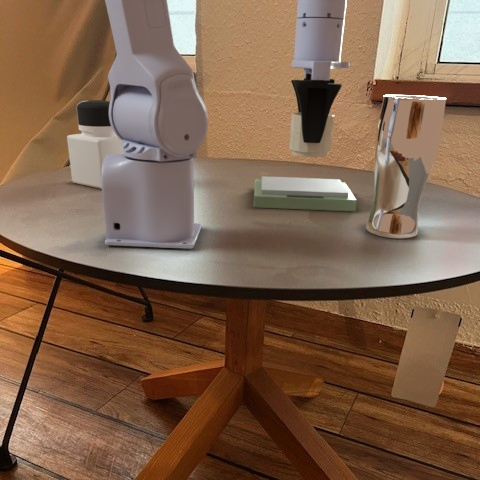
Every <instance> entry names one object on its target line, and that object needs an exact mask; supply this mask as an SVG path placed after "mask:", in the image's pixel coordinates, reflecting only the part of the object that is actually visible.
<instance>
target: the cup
mask: <svg viewBox="0 0 480 480" xmlns="http://www.w3.org/2000/svg"><path fill="white" fill-rule="evenodd" d="M335 117H336V116H335V114H333V113H329V115H328V118H327V122H326V126H325V129H324V133H323V136H322V139H321V142H320V143H304V141H303V135H302V122H301V112H298V111H296V112H291V114H290V127H289V128H290V129H289V142H288V149H289V150H290V155H292V156H295V157H301V158H313V159H314V158H325V157H326V158H327V157H328V156H329V153H330V152H331V151H332V143H333V134H334V125H335Z"/></svg>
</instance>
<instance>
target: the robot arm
mask: <svg viewBox="0 0 480 480" xmlns="http://www.w3.org/2000/svg"><path fill="white" fill-rule="evenodd" d="M347 1H348V0H297V7H296V8H297V9H296V22H295V36H294V37H295V38H294V50H293V60H292V61H291V68H292V69H303V76H304V78H303V79H291V80H290V82H291V85H292V87H293V89H294V90H293V91H294V94H295V98H296V104H297V112H301V122H302V135H303V141H304V143H320V142H321V139H322V136H323V133H324V129H325V126H326V122H327V118H328V115H329V114H330V112H331V108H332V106H333V103H334V102H335V99H336V98H337V96H338V95H339V92H340V90H341V89H342V83H335V82H336V81H335V79H334V78H331V70H341V69H350V67H351V66H350V64H351V62H350V61H341V56H342V47H343V38H344V29H345V20H346V12H347V11H346V10H347ZM104 2H105V5H106V11H107V16H108V19H109V24H110V30H111V33H112V37H113V42H114V47H115V52H116V56H115V59H114V61H113V62H112V65H111V67H110V70H109V71H108V74H107V79H108V80H107V81H108V83H109V89H110V100H109V101H110V105H109V120H110V124H111V127H112V129H113V131H114V132H115V134H116V135H117V136H118V138H120V139H121V140H122V147H123V151H124V154H110V155H107V156H106V157H105V159H104V161H103V165H102V175H101V185H102V189H101V195H102V207H103V216H104V227H105V237H106V238H105V240H104V245H107V246H118V247H119V246H121V247H143V248H167V249H194V247H195V245H196V242H197V240H198V238H199V234H200V232H201V230H202V224H201V223H199V222H196V223H195V180H194V179H195V176H194V175H195V173H194V172H195V171H194V169H195V168H194V167H195V165H194V163H195V162H194V161H195V160H194V159H196V158H197V151H198V150H199V149H200V147H201V146H202V145H203V143H204V140H205V139H206V136H207V133H208V128H209V114H208V110H207V105H206V104H205V102H204V100H203V99H202V97H201V96H200V93H199V91H198V89H197V86H196V81H195V74H194V70H193V68H191V66H190V65H189V63H188V62H187V61H186V60H185V58H184V56H182V55H181V53H180V52H179V51H178V49H177V48H176V46H175V41H174V36H173V29H172V23H171V17H170V11H169V5H168V0H104Z"/></svg>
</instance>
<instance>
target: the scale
mask: <svg viewBox="0 0 480 480" xmlns="http://www.w3.org/2000/svg"><path fill="white" fill-rule="evenodd" d="M253 190H254V191H253V208H257V209H259V208H260V209H281V210H282V209H283V210H307V211H308V210H309V211H332V212H333V211H334V212H356V210H357V203H358V200H357V198H356V196H354V194H353V192H352V191H351V189H350V188H349V186H348V185H347V184H346V182H342V181H341V179H340V178H339V179H338V178H317V177H316V178H314V177H311V178H310V177H291V176H290V177H289V176H263V175H262V176H261V179H257V178H255V180H254V189H253Z"/></svg>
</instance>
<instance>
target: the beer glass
mask: <svg viewBox="0 0 480 480" xmlns="http://www.w3.org/2000/svg"><path fill="white" fill-rule="evenodd" d="M446 102H447V98H446V97H439V96H429V95H428V96H427V95H410V94H409V95H408V94H385V95H383V99H382V104H381V107H380V113H379V116H378V121H377V127H376V132H375V139H374V150H373V169H374V170H373V174H374V175H373V176H374V181H373V182H374V195H373V202H372V206H371V210H370V213H369V216H368V219H367V222H366V225H365V229H366V230H367V232H369V233H370V234H372V235H375V236H378V237H381V238H387V239H397V240H398V239H400V240H401V239H402V240H403V239H404V240H405V239H410V238H411V239H412V238H414V237H416V236H417V235H418V234H419V233H418V232H419V210H420V204H421V200H422V196H423V194H424V191H425V187H426V185H427V183H428V180H429V178H430V175H431V173H432V172H431V171H432V170H433V167H434V164H435V161H436V159H437V155H438V152H439V147H440V143H441V138H442V134H443V133H442V132H443V127H444V119H445V109H446Z"/></svg>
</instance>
